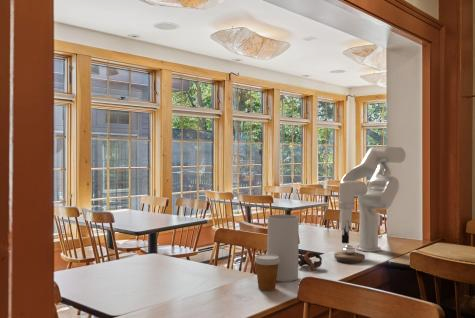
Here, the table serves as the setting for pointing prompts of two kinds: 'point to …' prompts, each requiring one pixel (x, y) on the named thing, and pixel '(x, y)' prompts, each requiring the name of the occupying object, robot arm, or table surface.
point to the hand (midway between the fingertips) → (345, 243)
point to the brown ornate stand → (309, 260)
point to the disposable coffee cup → (267, 271)
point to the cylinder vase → (284, 245)
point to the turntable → (349, 257)
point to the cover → (348, 250)
